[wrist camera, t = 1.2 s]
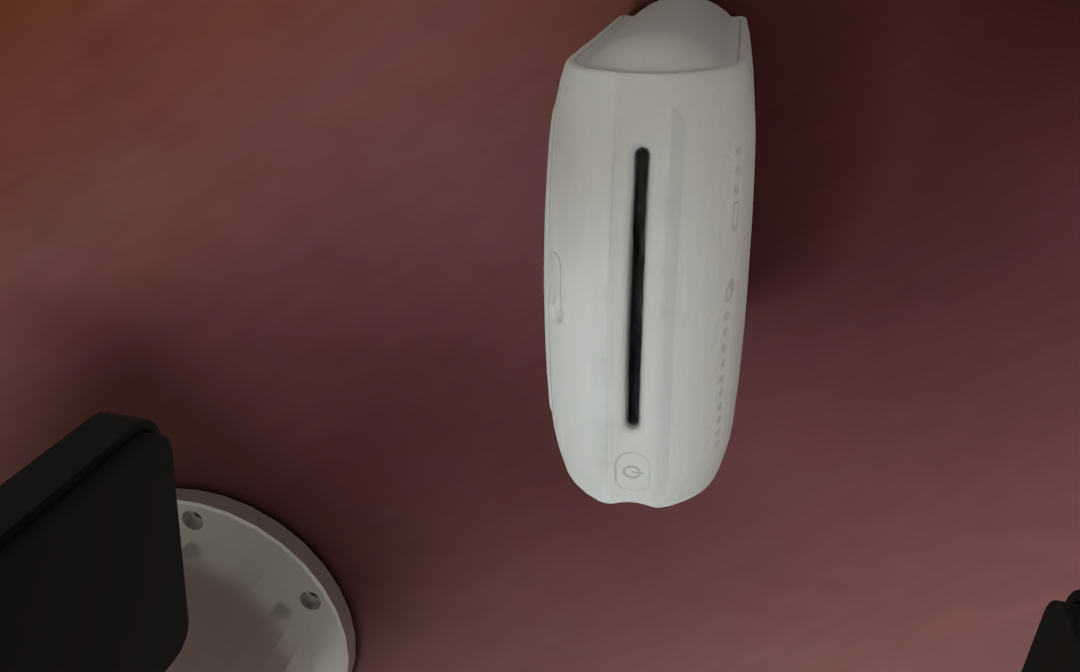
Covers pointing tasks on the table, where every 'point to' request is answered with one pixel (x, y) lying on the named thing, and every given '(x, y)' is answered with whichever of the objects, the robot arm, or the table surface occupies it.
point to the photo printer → (649, 250)
